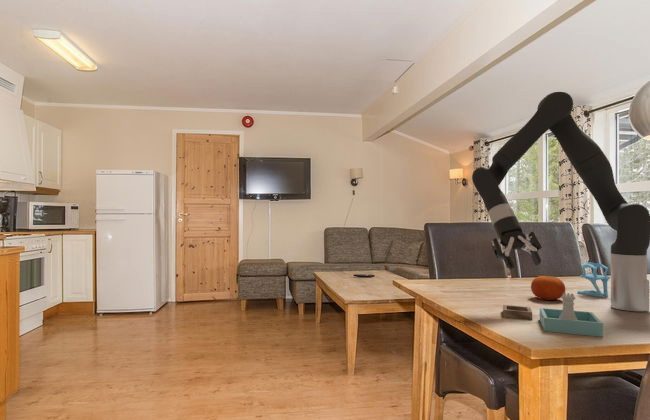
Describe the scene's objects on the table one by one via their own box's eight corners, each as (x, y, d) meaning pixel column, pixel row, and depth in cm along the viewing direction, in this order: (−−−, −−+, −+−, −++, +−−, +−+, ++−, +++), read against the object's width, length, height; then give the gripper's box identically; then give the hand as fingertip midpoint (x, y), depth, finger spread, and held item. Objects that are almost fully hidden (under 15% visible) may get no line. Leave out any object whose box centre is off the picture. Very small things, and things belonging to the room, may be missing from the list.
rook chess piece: (571, 322, 110) (571, 292, 110) (582, 326, 106) (582, 295, 106) (554, 322, 110) (554, 292, 110) (565, 326, 106) (565, 295, 106)
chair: (596, 297, 147) (596, 264, 147) (576, 293, 155) (577, 261, 155) (613, 296, 150) (613, 263, 150) (593, 292, 158) (593, 261, 158)
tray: (591, 324, 111) (591, 311, 111) (602, 336, 100) (602, 323, 100) (539, 319, 116) (539, 307, 116) (544, 330, 105) (544, 317, 105)
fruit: (526, 298, 145) (526, 276, 145) (537, 295, 152) (537, 273, 152) (559, 303, 137) (559, 279, 137) (569, 299, 144) (569, 276, 144)
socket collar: (530, 313, 123) (530, 306, 123) (532, 319, 116) (532, 312, 116) (502, 311, 126) (502, 304, 126) (503, 316, 119) (503, 309, 119)
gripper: (487, 218, 130) (508, 266, 122) (529, 211, 131) (553, 257, 124) (479, 229, 136) (499, 275, 129) (519, 222, 138) (541, 267, 130)
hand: (525, 266), depth 126 cm, fingers open, 8 cm apart
